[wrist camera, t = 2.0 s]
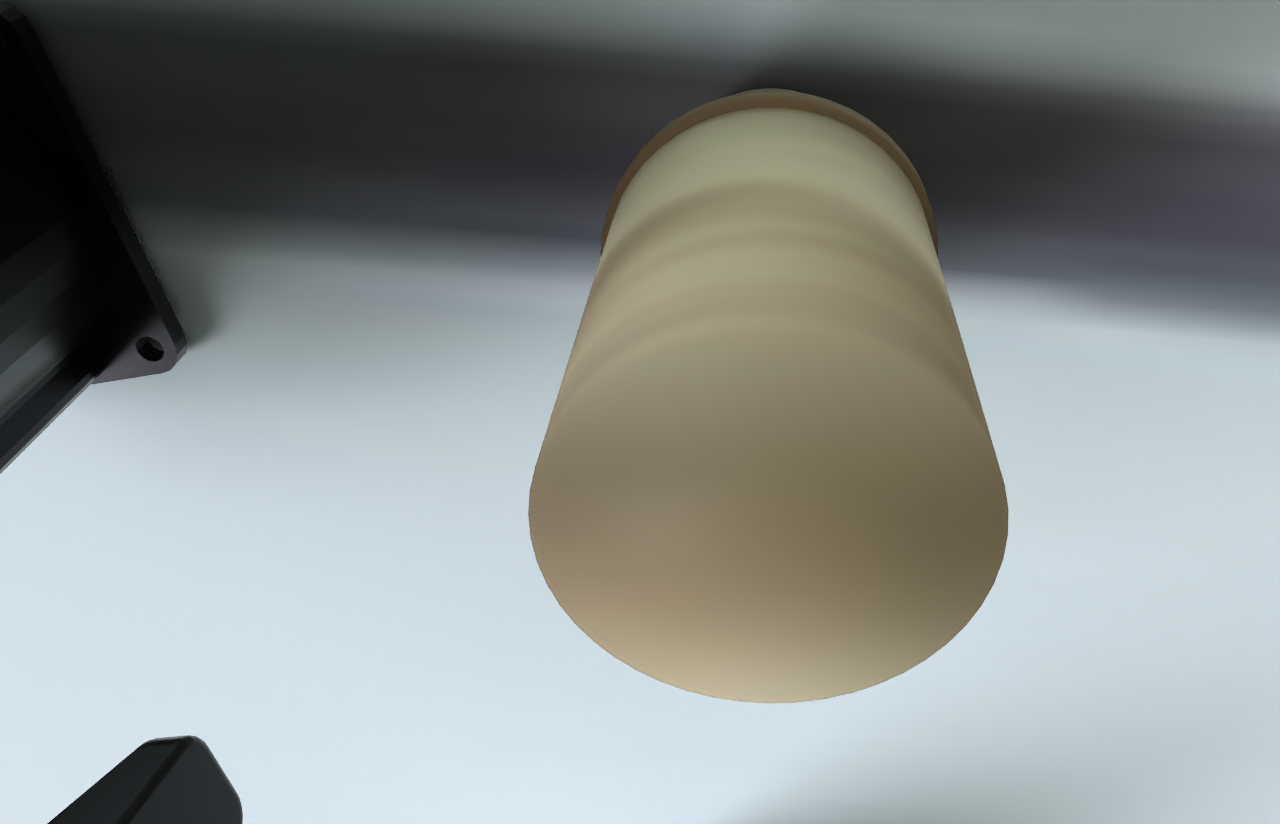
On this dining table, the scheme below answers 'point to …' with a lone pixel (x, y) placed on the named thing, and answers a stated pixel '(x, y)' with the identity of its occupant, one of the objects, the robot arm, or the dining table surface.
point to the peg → (769, 416)
